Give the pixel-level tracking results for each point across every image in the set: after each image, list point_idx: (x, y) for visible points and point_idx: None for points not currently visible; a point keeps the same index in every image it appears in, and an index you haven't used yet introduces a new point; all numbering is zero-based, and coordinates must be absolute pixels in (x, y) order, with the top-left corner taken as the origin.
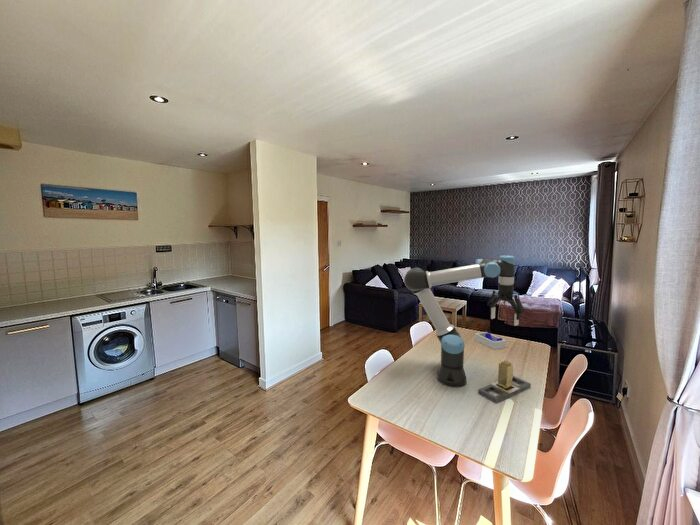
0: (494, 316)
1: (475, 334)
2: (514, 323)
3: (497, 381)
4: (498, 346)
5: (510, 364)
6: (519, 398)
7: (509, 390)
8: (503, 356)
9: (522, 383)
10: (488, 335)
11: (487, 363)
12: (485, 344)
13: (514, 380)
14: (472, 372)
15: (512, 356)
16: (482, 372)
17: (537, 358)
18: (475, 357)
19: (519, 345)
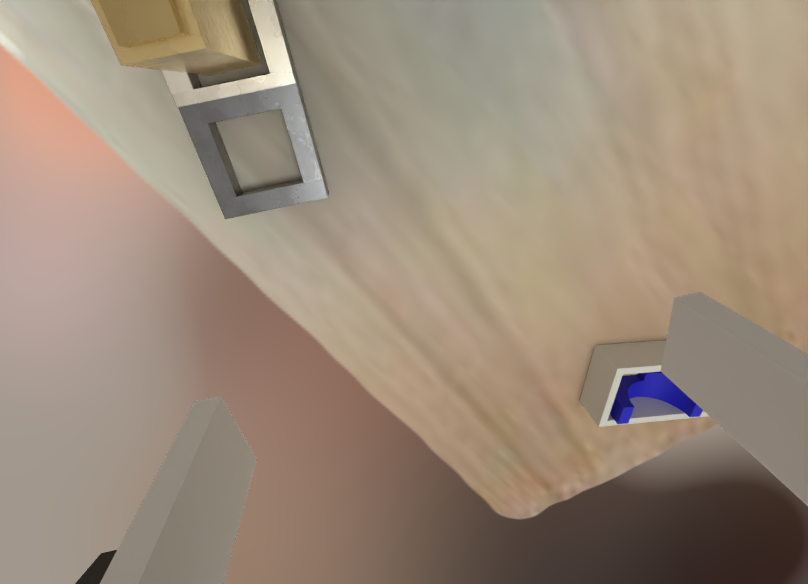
0: (692, 382)
1: None
2: (200, 428)
3: (279, 37)
4: (595, 374)
5: (121, 37)
6: None
7: None
8: (523, 332)
9: (253, 191)
10: (687, 400)
11: (509, 202)
12: (651, 343)
13: (297, 181)
14: (467, 12)
15: (504, 366)
16: (442, 83)
17: (444, 435)
18: (591, 193)
19: (559, 456)
